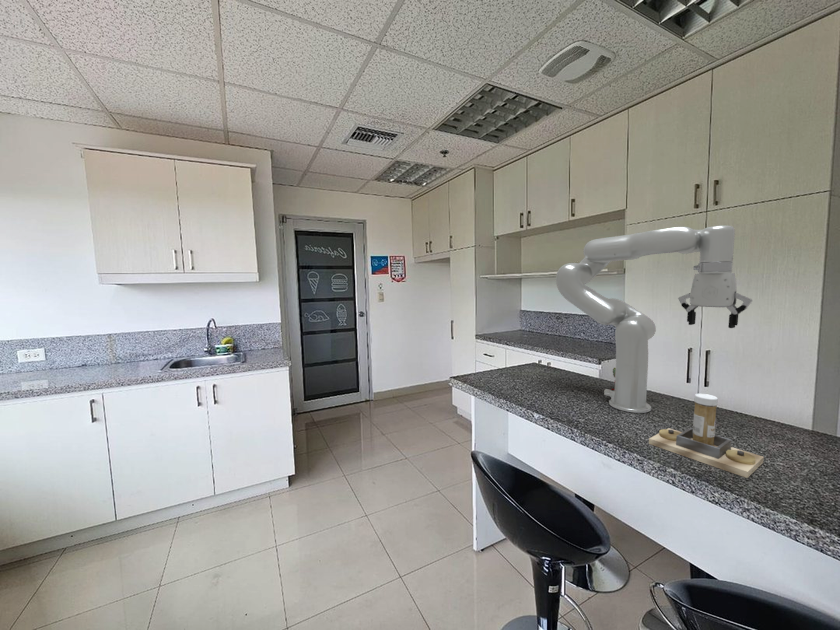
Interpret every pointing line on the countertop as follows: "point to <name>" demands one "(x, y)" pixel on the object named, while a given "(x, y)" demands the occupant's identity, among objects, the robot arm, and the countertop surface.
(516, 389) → the countertop surface
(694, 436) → the sprinkles bottle
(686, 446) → the board
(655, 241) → the robot arm
